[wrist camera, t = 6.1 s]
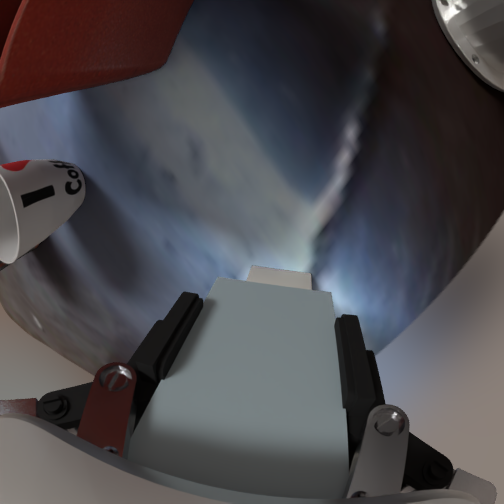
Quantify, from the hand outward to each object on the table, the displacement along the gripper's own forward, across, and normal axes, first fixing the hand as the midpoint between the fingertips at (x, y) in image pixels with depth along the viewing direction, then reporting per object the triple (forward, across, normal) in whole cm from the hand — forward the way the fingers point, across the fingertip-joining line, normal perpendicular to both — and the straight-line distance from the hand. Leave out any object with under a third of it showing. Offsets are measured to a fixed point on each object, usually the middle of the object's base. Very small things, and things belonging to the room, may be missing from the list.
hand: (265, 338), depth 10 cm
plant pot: (+13, +15, -20) cm, 28 cm away
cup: (+13, +22, -2) cm, 26 cm away
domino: (+3, 0, 0) cm, 3 cm away
